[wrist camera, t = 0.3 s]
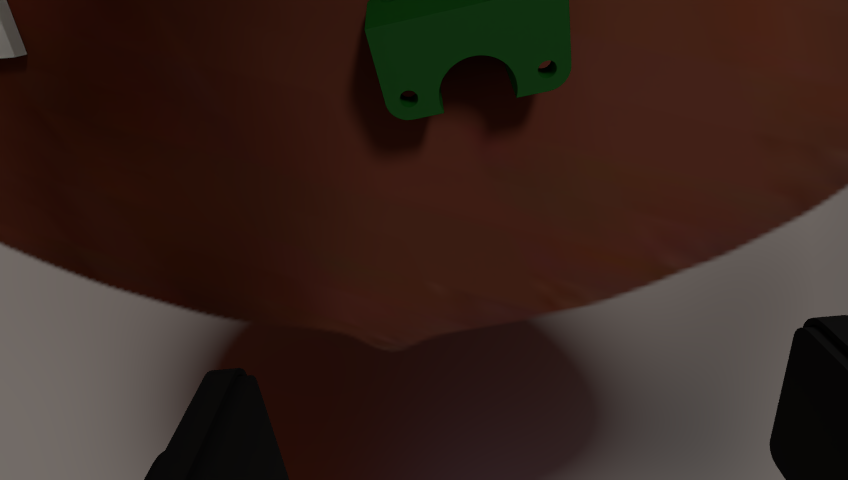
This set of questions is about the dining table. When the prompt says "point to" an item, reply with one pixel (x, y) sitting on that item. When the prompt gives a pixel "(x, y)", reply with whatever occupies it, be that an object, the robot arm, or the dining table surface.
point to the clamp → (464, 46)
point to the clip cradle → (9, 34)
